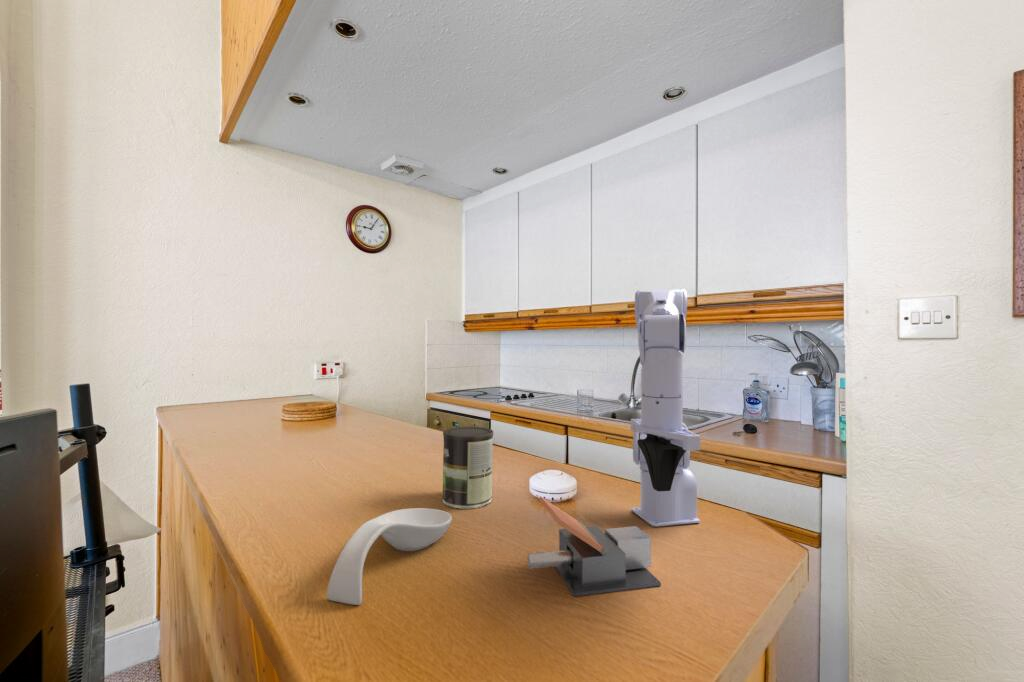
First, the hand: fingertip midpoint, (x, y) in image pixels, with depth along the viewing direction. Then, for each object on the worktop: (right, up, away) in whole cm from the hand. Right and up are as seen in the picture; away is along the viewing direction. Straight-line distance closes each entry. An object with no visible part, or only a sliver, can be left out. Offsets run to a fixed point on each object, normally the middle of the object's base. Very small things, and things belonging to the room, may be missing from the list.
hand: (661, 489), depth 61 cm
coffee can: (-31, -11, +25) cm, 41 cm away
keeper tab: (-14, -4, -3) cm, 15 cm away
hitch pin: (-11, -10, -3) cm, 15 cm away
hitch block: (-10, -10, -2) cm, 14 cm away
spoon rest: (-39, -11, 0) cm, 40 cm away
